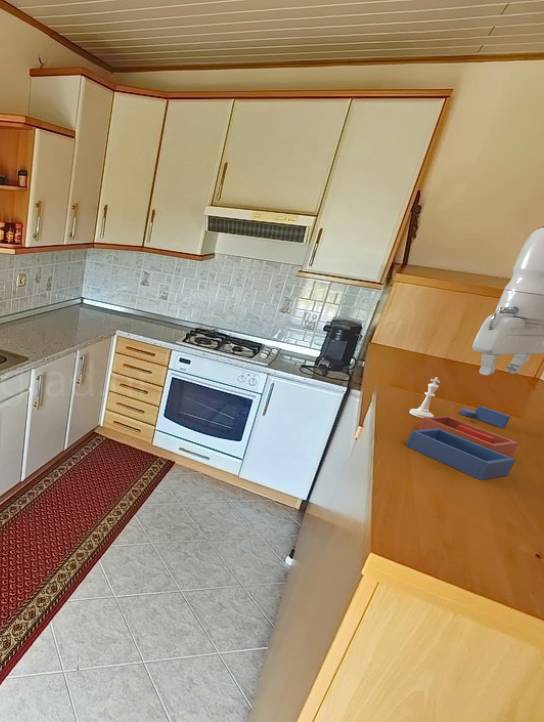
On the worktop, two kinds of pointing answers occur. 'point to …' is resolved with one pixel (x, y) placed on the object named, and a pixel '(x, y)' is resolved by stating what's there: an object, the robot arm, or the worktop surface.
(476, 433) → the red block
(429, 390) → the chess piece
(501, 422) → the blue flat paddle
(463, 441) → the blue bin
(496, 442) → the red bin
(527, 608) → the worktop surface
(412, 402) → the worktop surface
